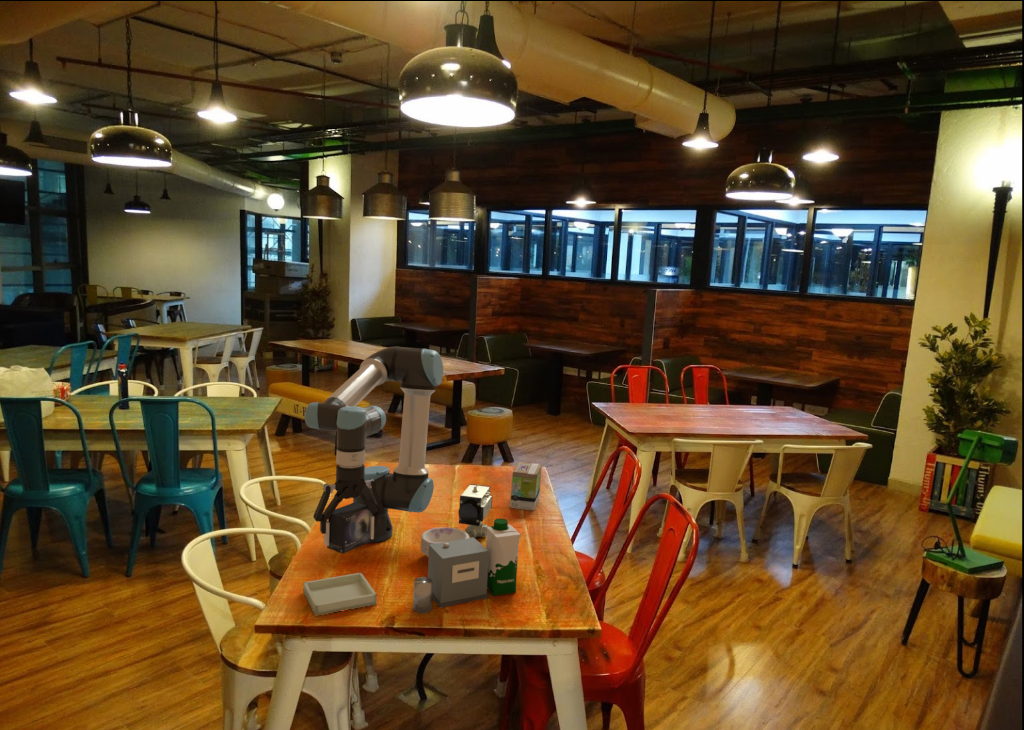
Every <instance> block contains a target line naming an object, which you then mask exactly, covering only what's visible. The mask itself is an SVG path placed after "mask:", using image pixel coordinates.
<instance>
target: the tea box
mask: <svg viewBox="0 0 1024 730" xmlns="http://www.w3.org/2000/svg"><path fill="white" fill-rule="evenodd" d="M542 466H543V465H542V464H541V463H532V462H523V461H517V464H516V466H515V467H514V469H513V471H512V476H511V478H512V479H511V491H510V500H509V501H510V503H509V508H511V509H517V510H525V511H535V510H536V507H537V504H538V502H539V500H540V493H541V492H540V491H541V479H542Z"/></svg>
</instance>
